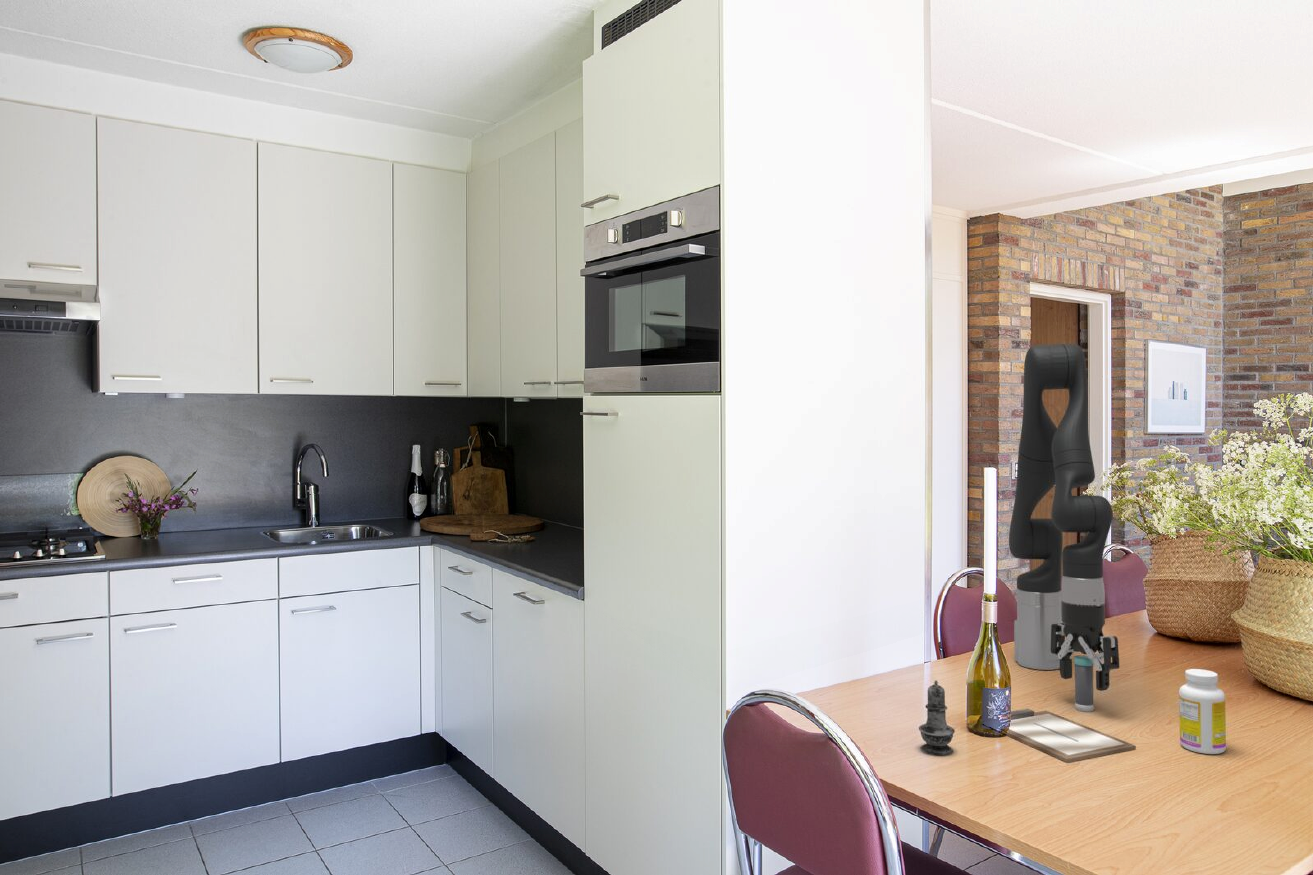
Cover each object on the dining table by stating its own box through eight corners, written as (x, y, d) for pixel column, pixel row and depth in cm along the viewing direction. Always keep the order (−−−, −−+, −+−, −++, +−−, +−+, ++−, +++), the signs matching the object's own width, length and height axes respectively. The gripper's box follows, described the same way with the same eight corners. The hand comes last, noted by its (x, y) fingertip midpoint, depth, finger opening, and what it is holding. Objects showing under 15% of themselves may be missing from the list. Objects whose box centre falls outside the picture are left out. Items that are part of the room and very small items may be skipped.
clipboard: (981, 724, 164) (981, 715, 164) (1045, 713, 169) (1045, 705, 169) (1066, 762, 145) (1066, 753, 145) (1135, 749, 150) (1135, 739, 150)
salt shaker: (955, 745, 153) (954, 676, 153) (954, 758, 148) (954, 686, 148) (919, 742, 155) (918, 674, 155) (918, 754, 150) (917, 683, 150)
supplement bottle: (1222, 744, 152) (1222, 669, 151) (1229, 758, 146) (1228, 680, 145) (1177, 739, 154) (1176, 665, 154) (1181, 752, 148) (1181, 675, 148)
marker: (1070, 707, 172) (1069, 656, 172) (1083, 705, 173) (1083, 654, 173) (1084, 713, 169) (1084, 660, 169) (1098, 710, 170) (1097, 658, 170)
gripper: (1039, 595, 176) (1040, 677, 176) (1098, 608, 162) (1099, 696, 163) (1068, 592, 178) (1070, 672, 178) (1129, 604, 165) (1130, 691, 165)
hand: (1084, 684), depth 170 cm, fingers open, 8 cm apart
